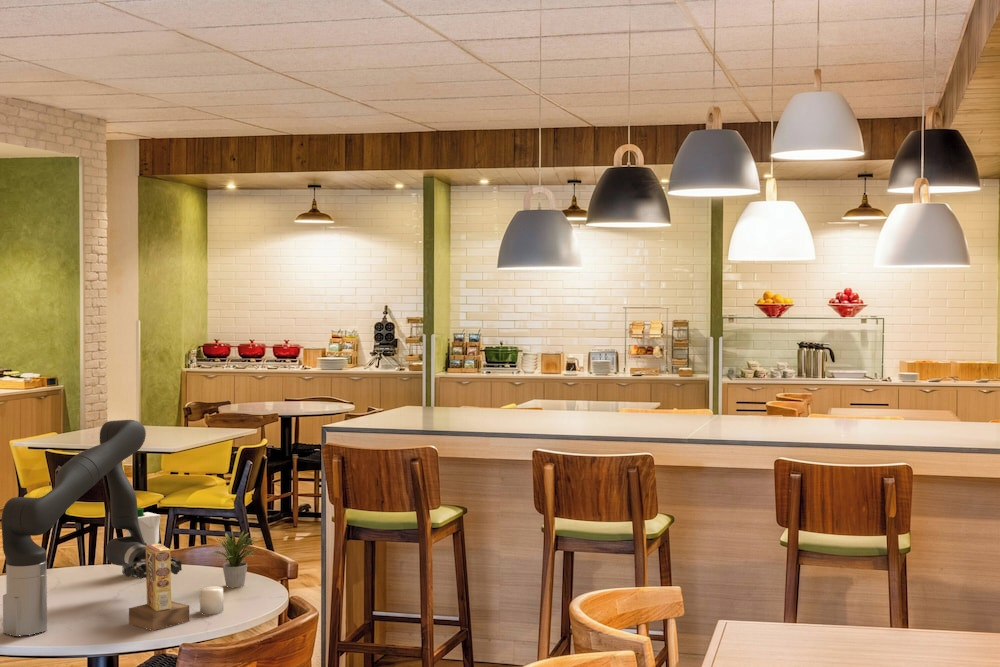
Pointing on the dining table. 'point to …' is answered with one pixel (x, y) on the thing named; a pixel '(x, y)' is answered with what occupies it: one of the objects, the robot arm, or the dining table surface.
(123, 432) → the robot arm
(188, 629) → the dining table surface
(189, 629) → the dining table surface
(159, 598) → the candy box
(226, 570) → the house plant
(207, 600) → the white cylinder
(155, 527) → the milk carton
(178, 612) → the walnut slab
